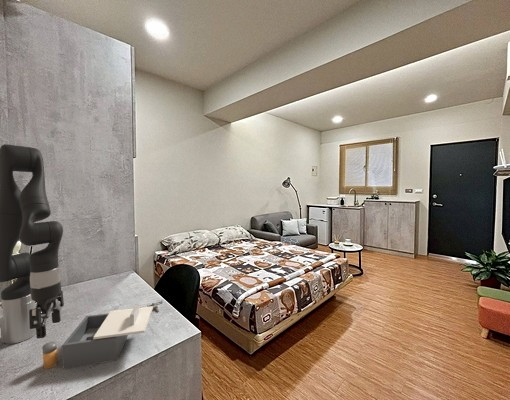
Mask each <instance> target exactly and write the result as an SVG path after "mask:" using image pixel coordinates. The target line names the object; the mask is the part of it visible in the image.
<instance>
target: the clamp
mask: <svg viewBox="0 0 510 400" xmlns="http://www.w3.org/2000/svg"><path fill="white" fill-rule="evenodd" d="M163 302H164V301H163V300H161V301H158V302H152V303H151V304H149V305H146V307H151V306H153V310H154V311H157V312H158V313H159V312H160V311H159V307H158V306H159V305H158V304H160V303H163Z"/></svg>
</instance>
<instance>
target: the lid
mask: <svg viewBox="0 0 510 400" xmlns="http://www.w3.org/2000/svg"><path fill="white" fill-rule="evenodd" d="M153 310H154V308H153V306H149V307H147V306H144V307H140V303H134V306H133V308H127V309H126V308H125V309H117V310H110V311H109V314H108V316H107V317H106V319H105V320H104V322H103V323H102V325H101V327H100V328H99V330H98V331H97V333H96V334H95V336H94V337H93V340H94V339H101V338H108V337H116V336H123V335H128V336H129V335H130V336H131V335H136V334H145V332H146V329H147V328H148V327H147V326H148V324H149V321H150V318H151V315H152V312H153Z"/></svg>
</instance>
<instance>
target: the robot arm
mask: <svg viewBox="0 0 510 400" xmlns="http://www.w3.org/2000/svg"><path fill="white" fill-rule="evenodd" d="M44 164H45V163H44V158H43V154H42V152H41V151H40V149H38V148H35V147H30V146H22V145H15V144H7V143H5V144H2V145H1V146H0V283H5V282H6V283H7V282H9V281H13V280H14V281H13V282H12V283H11V284H10V285H8V286H7V287H5V288H4V289H3V290H1V293H0V299H1V309H2V317H0V339H1V341H0V342H1V343H3V344H4V343H5V344H8V345H12V344H18V343H21V342H24V341H26V340H28V339H30V338H32V337H34V336H35V335H36V339H43V338H45V337H46V336H47V330H46V328H47V327H46V322H47V319H49V317H50V314H51V322H52V323H53V324H56V323H58V324H59V323H60V322H61V317H62V316H61V311H62V308H63V307H64V306H65V300H64V293H63V290H62V282H61V281H62V280H61V271H60V266H59V249H60V245H61V241H62V237H63V235H64V228H63V225H62V224H61V222H58V221H57V220H51V221H43V220H46V219H47V218H49V217H50V216H51V214H52V212H51V211H52V210H51V208H50V204H49V200H48V197H47V192H46V177H45V176H46V174H45V165H44ZM14 172H19V173H20V172H22V173H24V172H25V173H31V174H32V175H31V178H30V180H29V182H27V184H26V185H25V186H24V187H23V188H22V190H21V189H20V187H19V186H18V185H17V182H16V181H15V178H14ZM40 221H43V222H40ZM19 241H20V242H21V244H23V245H24V246H26V247H27V246H29V247H31V246H37V245H43V244H45V245H46V244H47V245H46V247H45V248H42V249H40V250H37V251H35V252H33V253H30V252H20V253H16V254H14V253H13V252H14V249H15V247H16V245H17V243H18V242H19ZM52 323H51V324H52Z"/></svg>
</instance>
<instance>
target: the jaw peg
mask: <svg viewBox="0 0 510 400" xmlns="http://www.w3.org/2000/svg"><path fill="white" fill-rule="evenodd" d="M41 349H42V361H43V363H42V365H43V369H44V370H48V369H52V368H54V367H55V366H56V365H58V363H59V362H58V361H59V359H58V345H57V341H55V340H54V341H49V342H47V343H45V344H44V345H43V346H42V347H41Z"/></svg>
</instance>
